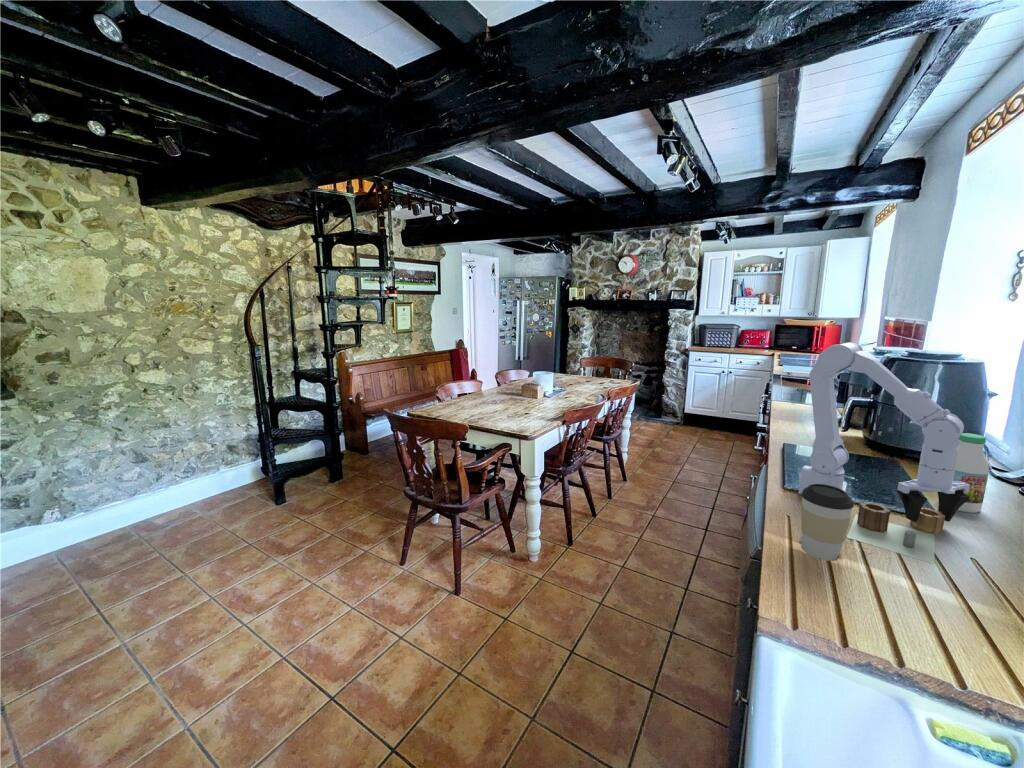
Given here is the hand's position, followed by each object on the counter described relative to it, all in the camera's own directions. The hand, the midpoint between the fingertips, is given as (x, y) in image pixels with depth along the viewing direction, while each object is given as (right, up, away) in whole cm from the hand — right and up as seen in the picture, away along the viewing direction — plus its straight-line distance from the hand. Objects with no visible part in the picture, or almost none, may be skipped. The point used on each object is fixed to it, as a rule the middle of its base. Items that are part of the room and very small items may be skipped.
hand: (927, 519), depth 95 cm
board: (-12, -4, -3) cm, 13 cm away
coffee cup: (-31, -5, -6) cm, 32 cm away
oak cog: (0, -3, +1) cm, 3 cm away
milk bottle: (+21, -1, +12) cm, 24 cm away
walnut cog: (-12, -2, +1) cm, 13 cm away
